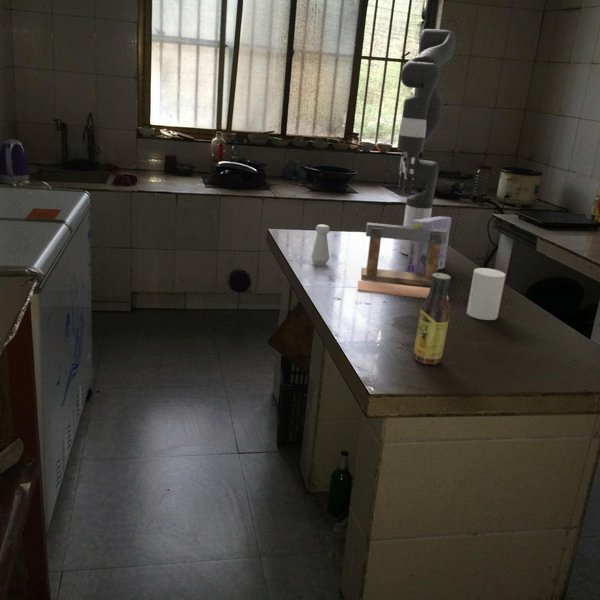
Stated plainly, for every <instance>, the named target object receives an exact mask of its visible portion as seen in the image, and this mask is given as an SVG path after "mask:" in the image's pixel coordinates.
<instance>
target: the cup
mask: <svg viewBox="0 0 600 600" xmlns="http://www.w3.org/2000/svg"><path fill="white" fill-rule="evenodd" d="M471 279H472V281H471V285H470V292H469V297H468V303H467V308H466V309H467V310H466V314H467V315H468V316H469V317H472V318H475V319H478V320H483V321H486V320H487V321H492V320H493V321H495V320H496V319H498V315H499V311H500V305H501V300H502V295H503V291H504V284H505V280H506V273H504V272H503V271H500V270H498V269H495V268H494V269H493V268H488V267H487V268H486V267H478V268H474V270H473V274H472V278H471Z"/></svg>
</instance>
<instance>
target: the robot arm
mask: <svg viewBox="0 0 600 600" xmlns="http://www.w3.org/2000/svg"><path fill="white" fill-rule="evenodd" d="M418 44H419V45H418V55H417V57H414V58H411V59H409V60H408V61H407V62H406V63H405V64H404V65H403V66H402V69H401V72H400V81H401V83H402V84H403V86H405V87H406V88H410V89H415V95H414V96H408V97H405V99H404V101H403V109H402V115H401V121H400V125H399V131H398V140H397V150H398V151H399V152H401V154H400V155H401V156H400V161H399V162H400V163H399V169H398V174H399V181H398V183H399V184H398V188H399V189H401V190H402V189H403V190H402V192H403V193H407V194H408V193H409V194H410V193H411V192H412V187H419V188H425V189H424V191H423V192H420V193H418V194H413V195H410V196H407V199H406V202H405V210H404V219H403V224H402V226H409V227H412V220H418V219H424V218H431V217H432V211H433V210H432V209H433V204H434V198H435V191H436V186H437V182H438V177H439V176H438V175H439V168H440V167H439V163H438V162H437V161H434V160H425V159H419V154H420V153H423V152H424V146H425V144H426V142H427V140H429V139H430V137H431V136H432V135H433V133H434V132H435V131H437V128H438V127H439V125H440V122H441V117H442V116H441V115H442V110H443V109H442V108H443V100H442V98H441V95H440V93H439V91H438V89H437V84H438V82H439V78H440V69H439V68H440V67H441V66H443V65H444V64H445V63H446V62H448V61H450V60H451V59H452V57H453V55H454V52H455V48H456V35H455V33H454V32H453V31H452V30H449V29H448V30H447V29H437V28H435V29H433V28H425V29H423V30H422V32H421V34H420V36H419V42H418ZM409 245H410V240H400V247H399V249H400V250H399V252H400V253H401V254H404V255H406V256H407V255H408V253H409Z"/></svg>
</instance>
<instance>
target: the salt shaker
mask: <svg viewBox="0 0 600 600" xmlns="http://www.w3.org/2000/svg"><path fill="white" fill-rule="evenodd" d="M330 230H331V229H330V226H329V225H327V224H317V225H316V227H315V232H316V237H315V240H314V245H313V248H312V252H311V256H310V257H311V261H312V264H313V265H314V266H318V267H324V266H325V267H326V265H327V263H328V262H329V260H330V253H329V243H328V242H329V241H328V234H329V233H330Z"/></svg>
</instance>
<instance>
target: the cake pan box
mask: <svg viewBox="0 0 600 600" xmlns="http://www.w3.org/2000/svg"><path fill="white" fill-rule="evenodd" d="M451 224H452V217H450V216H442V215H439V216H433V217H432V216H431V218H424V219H418V220H412V227H420V228H430V229H440V230H446V231H447V237H446V243H445V244H441V248H440V254H439V261H438V267H437V271H439V269H440V270H443V268H444V269H445V267H446V261H447V253H448V247H449V246H448V245H449V240H450V239H449V238H450V231H451ZM427 248H428V242H420V241H410V245H409V253H408V256H407V262H406V263H407V264H406V271H405V272H411V273H421V274H424V268H425V262H426V255H427Z"/></svg>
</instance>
